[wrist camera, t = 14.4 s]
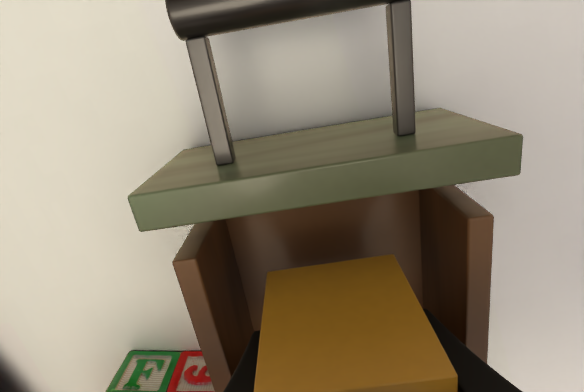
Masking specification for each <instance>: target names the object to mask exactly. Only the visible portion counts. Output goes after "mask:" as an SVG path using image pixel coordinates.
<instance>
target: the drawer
mask: <svg viewBox="0 0 584 392" xmlns="http://www.w3.org/2000/svg"><path fill="white" fill-rule="evenodd" d="M165 2H166V8H167V13H168V16H169V19H170V22H171V25H172V27H173V29H174V31H175V33H176V35H177V36H178V38H179V39H180V40H183V41H185V40H186V45H187V49H188V53H189V57H190V61H191V66H192V70H193V74H194V78H195V82H196V86H197V90H198V94H199V98H200V102H201V106H202V110H203V114H204V118H205V122H206V126H207V130H208V134H209V138H210V142H211V145H210V146H203V147H197V148H191V149H185V150H183V151H181V152H180V153H179V154H178V155H177V156H176V157H174V158H173V159H172V160H171V161H170V162H168V163H167V164H166V165H165V166H164V167H162V168H161V169H160V170H159V171H158V172H156V173H155V174H154V175H153V176H152V177H150V178H149V179H148V180H147V181H146V182H144V183H143V184H142V185H141V186H140V187H138V188H137V189H136V190H135V191H134V192H132V193H131V194H130V195H129V196H128V201H129V203H130V206H131V209H132V212H133V215H134V218H135V220H136V223H137V226H138V229H139V231H140V232H144V231H150V230H157V229H163V228H170V227H177V226H183V225H190V224H194V226H193V228H192V229H191V231H190V233H189V235H188V236H187V238H186V240H185V241H184V243H183V245H182V246H181V248H180V250H179V251H178V253H177V255H176V257H175V258H174V260H173V266H174V269H175V272H176V275H177V278H178V282H179V285H180V288H181V291H182V294H183V297H184V300H185V303H186V306H187V309H188V312H189V315H190V318H191V321H192V324H193V327H194V330H195V333H196V336H197V339H198V342H199V345H200V348H201V351H202V354H203V357H204V360H205V363H206V367H207V370H208V373H209V376H210V379H211V382H212V385H213V388H214V391H215V392H223V391H224V390H225V388H226V386H227V384H228V382H229V381H230V379H231V377H232V375H233V373H234V371H235V369H236V368H237V366H238V364H239V362H240V360H241V358H242V356H243V353H244V351H245V349H246V347H247V345H248V343H249V340H250V338H251V336H252V334H253V333H254V331H259V330H261V322H262V313H263V304H264V295H265V286H266V277H267V272H270V271H277V270H284V269H291V268H298V267H305V266H312V265H319V264H326V263H334V262H341V261H348V260H355V259H362V258H369V257H376V256H383V255H390V254H394V256H395V258H396V260H397V262H398V264H399V265H400V267H401V269H402V271H403V273H404V275H405V277H406V279H407V281H408V282H409V284H410V286H411V288H412V290H413V292H414V294H415V296H416V298H417V299H418V301H419V303H420V305H421V307H422V309H425V308H426V309H427V310H429V311H430V312H431V313H432V314H433V315H434V316H435V317H436V318H437V319H438V320H439V321H440V322H441V323H442V324H443V325H444V326H445V327H446V328H447V329H448V330H449V331H450V332H451V333H452V334H453V335H454V336H455V337H457V338H458V339H459V340H460V341H461V342H462V343H463V344H464V345H465V346H466V347H468V348H469V349H470V350H471V351H472V352H473V353H475V354H476V355H477V356H478V357H479V358H480V359H481V360H483V361H484V362H485V363H486V364H487V352H488V331H489V309H490V287H491V266H492V244H493V223H494V217H493V215H492V214H491V213H490V212H488V211H487V210H486V209H484V208H483V207H482V206H481V205H479V204H478V203H477V202H475V201H474V200H473V199H472V198H470V197H469V196H468V195H466V194H465V193H464V192H462V191H461V190H460V189H459V188H457V187H456V186H455V184H462V183H469V182H475V181H482V180H489V179H495V178H502V177H508V176H515V175H519V174H520V170H521V156H522V143H523V136H522V134H519V133H516V132H513V131H510V130H507V129H504V128H501V127H498V126H495V125H491V124H488V123H485V122H482V121H479V120H476V119H473V118H470V117H467V116H464V115H461V114H457V113H454V112H451V111H448V110H445V109H442V108H436V109H430V110H424V111H418V112H415V98H414V72H413V45H412V18H411V1H410V0H165ZM389 3H390V4H389ZM384 4H388V5H387V6H386V19H387V36H388V52H389V69H390V85H391V102H392V116H387V117H381V118H375V119H369V120H363V121H357V122H350V123H344V124H338V125H332V126H326V127H320V128H314V129H308V130H301V131H295V132H289V133H283V134H277V135H271V136H265V137H259V138H252V139H246V140H240V141H234V142H232V138H231V134H230V130H229V125H228V121H227V116H226V112H225V108H224V103H223V99H222V94H221V90H220V86H219V81H218V77H217V72H216V68H215V63H214V59H213V55H212V50H211V46H210V41H209V38H207V36H213V35H218V34H224V33H229V32H235V31H240V30H246V29H251V28H257V27H262V26H268V25H273V24H279V23H285V22H290V21H296V20H301V19H307V18H312V17H318V16H323V15H329V14H334V13H340V12H345V11H351V10H356V9H362V8H367V7H373V6H378V5H384Z"/></svg>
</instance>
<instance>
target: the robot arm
mask: <svg viewBox="0 0 584 392" xmlns="http://www.w3.org/2000/svg"><path fill="white" fill-rule="evenodd" d="M423 311H424V313H425V315H426V317H427V318H428V320H429V322H430V324H431V326H432V328H433V330H434V332H435V334H436V335H437V337H438V339H439V341H440V343H441V345H442V347H443V349H444V351H445V352H446V354H447V356H448V358H449V360H450V362H451V364H452V366H453V368H454V369H455V371H456V373H457V375H458V392H522V391H521V390H519V389H518V388H517V387H515V386H514V385H513V384H511V383H510V382H509V381H507V380H506V379H505V378H504V377H502V376H501V375H500V374H499V373H497V372H496V371H495V370H493V369H492V368H491V367H490V366H489V365H487V364H486V363H485V362H484V361H483V360H481V359H480V358H479V357H478V356H477V355H476V354H475V353H473V352H472V351H471V350H470V349H469V348H468V347H466V346H465V345H464V344H463V343H462V342H461V341H460V340H459V339H458V338H457V337H455V336H454V335H453V334H452V333H451V332H450V331H449V330H448V329H447V328H446V327H445V326H444V325H443V324H442V323H441V322H440V321H439V320H438V319H437V318H436V317H435V316H434V315H433V314H432V313H431V312H430V311H429V310H427V309H426V308H425V309H423ZM260 331H261V330H259V331H254V333H253V334H252V336H251V338H250V340H249V343H248V345H247V347H246V349H245V351H244V353H243V356H242V358H241V360H240V362H239V364H238V366H237V368H236V369H235V371H234V373H233V375H232V377H231V379H230V381H229V382H228V384H227V386H226V388H225V390H224V391H223V392H254V384H255V375H256V366H257V357H258V348H259V340H260Z"/></svg>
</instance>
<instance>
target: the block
mask: <svg viewBox="0 0 584 392" xmlns="http://www.w3.org/2000/svg"><path fill="white" fill-rule="evenodd" d="M254 392H458V375H457V373H456V371H455V369H454V368H453V366H452V364H451V362H450V360H449V358H448V356H447V354H446V352H445V351H444V349H443V347H442V345H441V343H440V341H439V339H438V337H437V335H436V334H435V332H434V330H433V328H432V326H431V324H430V322H429V320H428V318H427V317H426V315H425V313H424V311H423V309H422V307H421V305H420V303H419V301H418V299H417V298H416V296H415V294H414V292H413V290H412V288H411V286H410V284H409V282H408V281H407V279H406V277H405V275H404V273H403V271H402V269H401V267H400V265H399V264H398V262H397V260H396V258H395V256H394V254H390V255H383V256H376V257H369V258H362V259H355V260H348V261H341V262H334V263H326V264H319V265H312V266H305V267H298V268H291V269H284V270H277V271H270V272H267V277H266V286H265V295H264V304H263V313H262V322H261V331H260V340H259V348H258V357H257V366H256V375H255V384H254Z"/></svg>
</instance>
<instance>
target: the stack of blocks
mask: <svg viewBox="0 0 584 392" xmlns="http://www.w3.org/2000/svg"><path fill="white" fill-rule="evenodd" d="M106 392H215V391H214V388H213V385H212V382H211V379H210V376H209V373H208V370H207V367H206V363H205V360H204V357H203V354H202V351H183V352H171V351H130V352H129V353H128V355H127V356H126V358H125V360H124V361H123V363H122V365H121V367H120V368H119V370H118V371H117V373H116V375H115V376H114V378H113V380H112V381H111V383H110V385H109V387H108V388H107V390H106Z"/></svg>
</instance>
